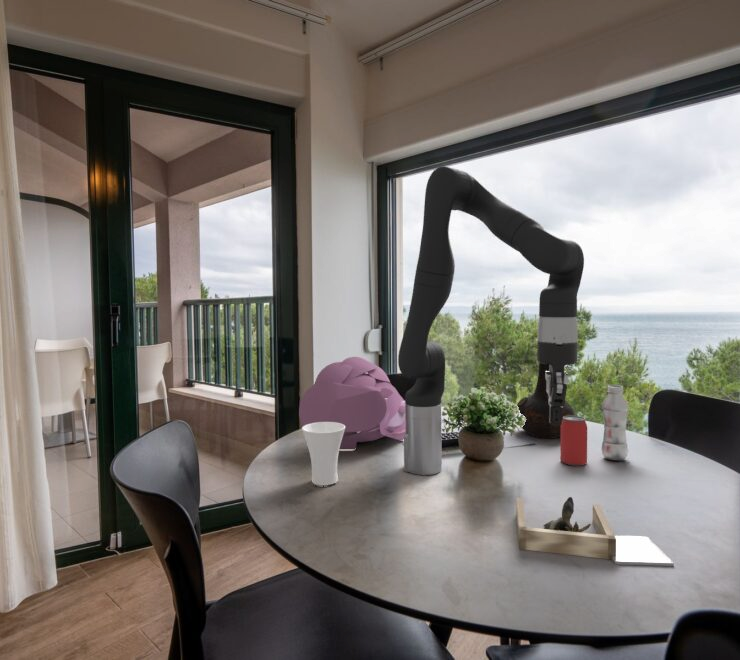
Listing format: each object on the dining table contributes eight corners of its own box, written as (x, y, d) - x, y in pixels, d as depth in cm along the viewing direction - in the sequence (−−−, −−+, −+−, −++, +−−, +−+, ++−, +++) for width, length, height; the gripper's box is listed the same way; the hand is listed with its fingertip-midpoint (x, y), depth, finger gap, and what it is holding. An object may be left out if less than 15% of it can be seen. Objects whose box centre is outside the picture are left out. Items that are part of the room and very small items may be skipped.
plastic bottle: (602, 461, 130) (603, 387, 129) (600, 454, 136) (601, 383, 135) (629, 464, 127) (630, 388, 126) (626, 456, 134) (627, 384, 132)
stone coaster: (615, 564, 79) (615, 561, 79) (595, 537, 88) (595, 535, 88) (673, 566, 79) (673, 563, 79) (646, 539, 88) (647, 536, 88)
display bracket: (519, 549, 85) (519, 529, 85) (516, 514, 99) (516, 497, 98) (616, 559, 81) (616, 539, 81) (599, 522, 95) (599, 504, 94)
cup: (355, 481, 118) (354, 426, 118) (322, 493, 111) (321, 435, 110) (326, 471, 126) (325, 419, 125) (294, 482, 118) (292, 427, 117)
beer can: (589, 467, 126) (590, 421, 125) (562, 465, 127) (563, 420, 126) (583, 459, 132) (584, 415, 132) (558, 458, 134) (558, 414, 133)
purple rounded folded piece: (370, 441, 170) (361, 361, 174) (429, 437, 157) (418, 350, 161) (300, 457, 142) (291, 361, 146) (365, 454, 128) (353, 349, 132)
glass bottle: (511, 427, 167) (512, 345, 166) (566, 428, 165) (567, 345, 163) (520, 441, 149) (520, 351, 148) (581, 443, 147) (582, 350, 145)
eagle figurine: (602, 541, 85) (582, 510, 94) (582, 511, 84) (563, 482, 92) (563, 562, 86) (546, 529, 95) (543, 532, 85) (528, 502, 93)
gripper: (535, 336, 105) (533, 416, 106) (540, 342, 92) (538, 432, 93) (572, 337, 103) (570, 418, 104) (582, 342, 90) (580, 435, 91)
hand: (555, 424), depth 99 cm, fingers closed
